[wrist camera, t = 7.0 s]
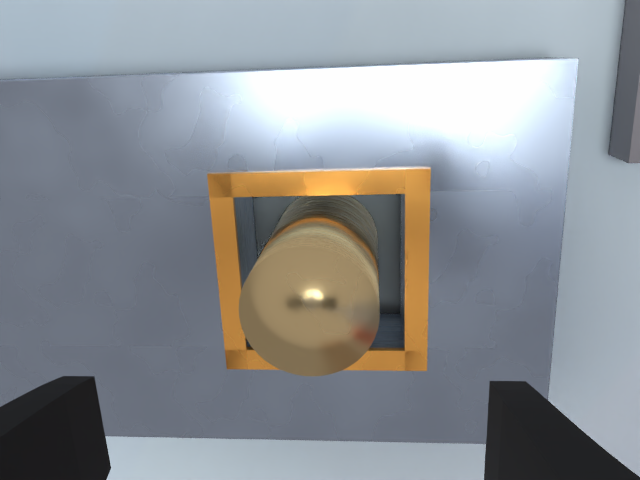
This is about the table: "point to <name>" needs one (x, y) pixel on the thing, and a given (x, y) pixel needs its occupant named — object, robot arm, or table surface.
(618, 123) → the gray square block
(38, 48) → the table surface
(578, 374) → the table surface
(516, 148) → the plate
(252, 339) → the brass peg
